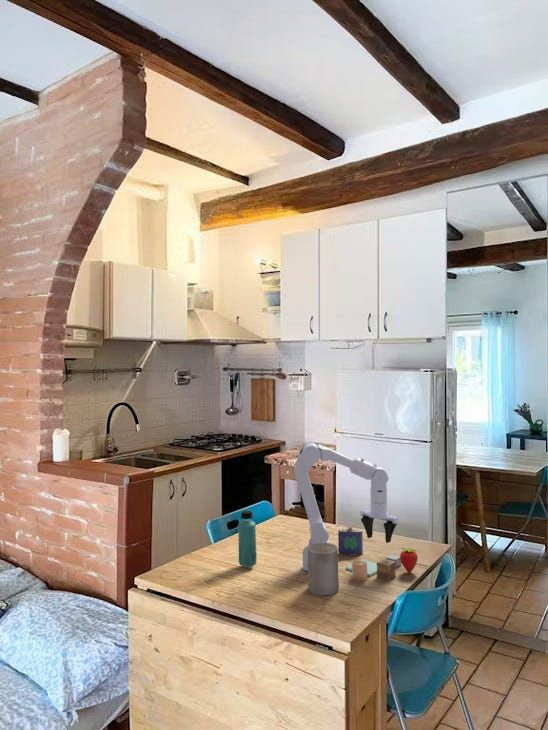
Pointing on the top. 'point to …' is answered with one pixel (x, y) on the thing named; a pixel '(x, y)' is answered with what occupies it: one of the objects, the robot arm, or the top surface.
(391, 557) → the grey square block
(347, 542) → the flask
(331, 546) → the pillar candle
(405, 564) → the strawberry
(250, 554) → the beverage bottle
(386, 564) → the walnut block
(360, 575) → the peach domed cylinder
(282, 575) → the top surface
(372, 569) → the coaster
